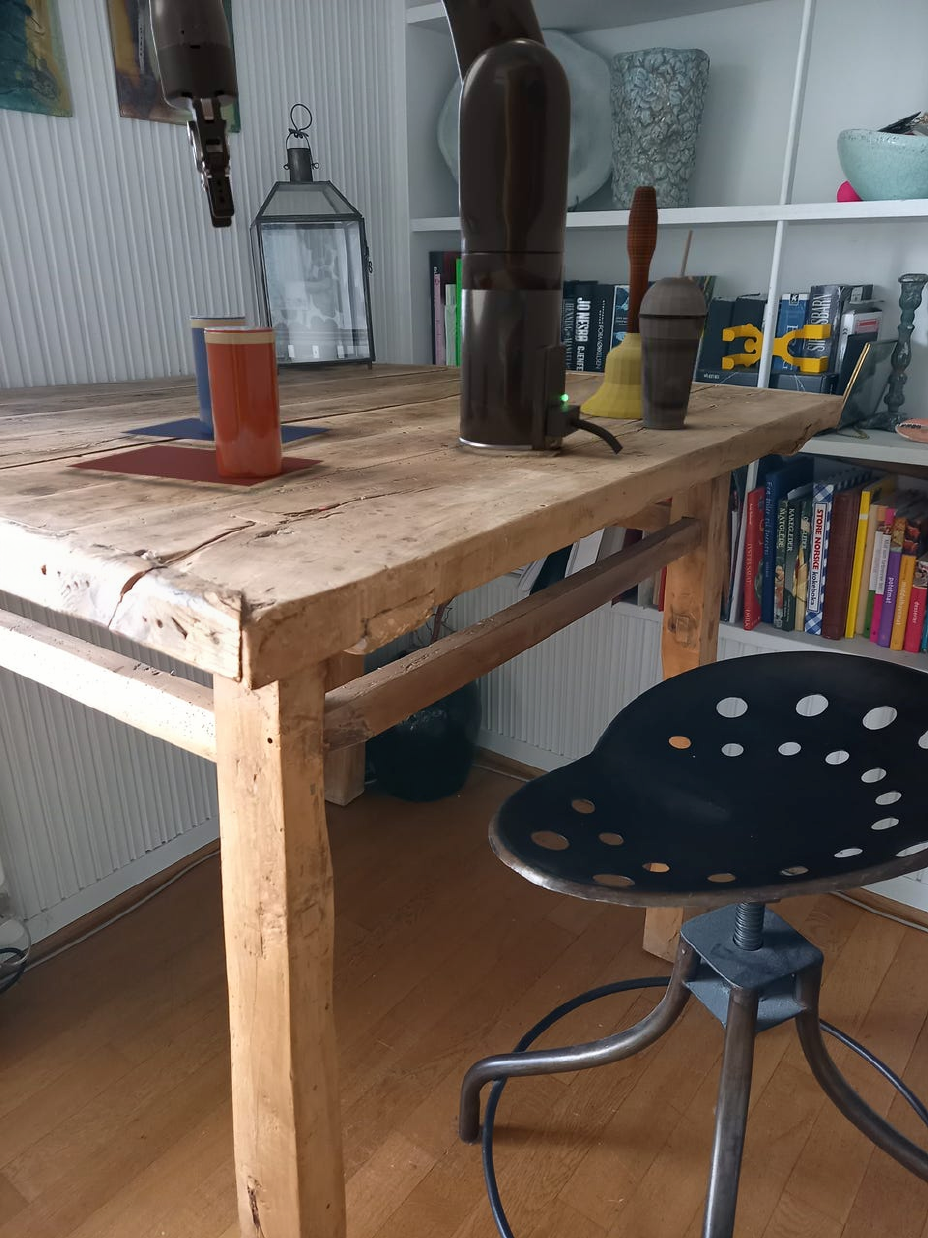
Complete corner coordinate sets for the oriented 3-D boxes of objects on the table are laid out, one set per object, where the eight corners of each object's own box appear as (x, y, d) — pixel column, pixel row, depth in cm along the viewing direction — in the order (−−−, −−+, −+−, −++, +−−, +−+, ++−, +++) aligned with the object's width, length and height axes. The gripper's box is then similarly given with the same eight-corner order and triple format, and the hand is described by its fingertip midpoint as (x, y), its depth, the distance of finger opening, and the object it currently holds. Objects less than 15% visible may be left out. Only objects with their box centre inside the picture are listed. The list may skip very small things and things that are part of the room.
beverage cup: (646, 419, 105) (661, 231, 98) (706, 425, 101) (726, 230, 94) (618, 426, 99) (631, 229, 92) (680, 433, 95) (699, 227, 88)
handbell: (676, 420, 104) (698, 180, 95) (570, 415, 107) (581, 182, 98) (684, 407, 115) (704, 190, 106) (588, 402, 118) (599, 192, 109)
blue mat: (333, 434, 93) (333, 428, 93) (272, 452, 84) (272, 445, 83) (191, 423, 99) (191, 417, 99) (120, 438, 90) (119, 432, 90)
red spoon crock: (297, 468, 74) (288, 327, 70) (259, 480, 69) (248, 330, 65) (243, 462, 76) (232, 325, 72) (203, 474, 71) (188, 328, 67)
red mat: (325, 467, 77) (325, 460, 77) (249, 493, 68) (249, 485, 68) (157, 451, 84) (156, 444, 83) (66, 473, 74) (65, 465, 74)
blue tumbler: (264, 428, 93) (256, 315, 89) (233, 436, 88) (223, 317, 84) (222, 424, 95) (212, 314, 91) (189, 432, 90) (177, 316, 86)
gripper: (158, 71, 97) (188, 233, 102) (152, 27, 84) (186, 215, 89) (229, 68, 99) (255, 228, 104) (234, 25, 86) (263, 209, 91)
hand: (223, 222), depth 97 cm, fingers open, 8 cm apart
